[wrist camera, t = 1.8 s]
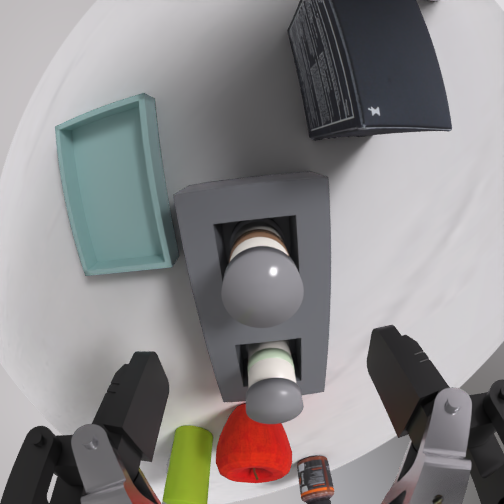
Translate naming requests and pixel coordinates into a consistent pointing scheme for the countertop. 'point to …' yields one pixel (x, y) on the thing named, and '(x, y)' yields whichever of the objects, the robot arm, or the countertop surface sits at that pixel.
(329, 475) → the supplement bottle
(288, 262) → the fuse
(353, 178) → the countertop surface
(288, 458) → the apple
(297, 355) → the block
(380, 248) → the countertop surface
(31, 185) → the countertop surface
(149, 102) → the tray
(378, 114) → the small box
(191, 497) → the soap dispenser
